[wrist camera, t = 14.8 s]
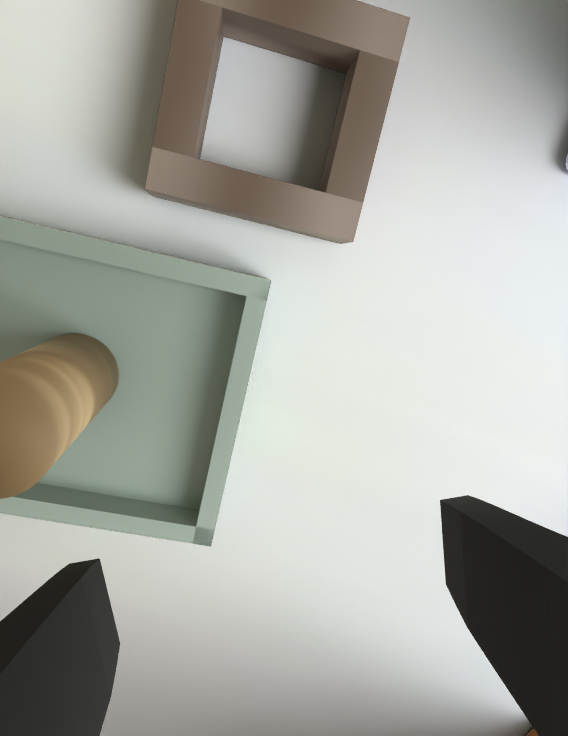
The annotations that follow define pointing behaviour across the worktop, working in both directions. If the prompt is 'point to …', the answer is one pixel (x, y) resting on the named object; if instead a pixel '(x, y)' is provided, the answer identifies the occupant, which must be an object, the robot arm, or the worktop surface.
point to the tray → (136, 377)
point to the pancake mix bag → (532, 733)
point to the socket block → (299, 40)
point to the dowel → (49, 404)
